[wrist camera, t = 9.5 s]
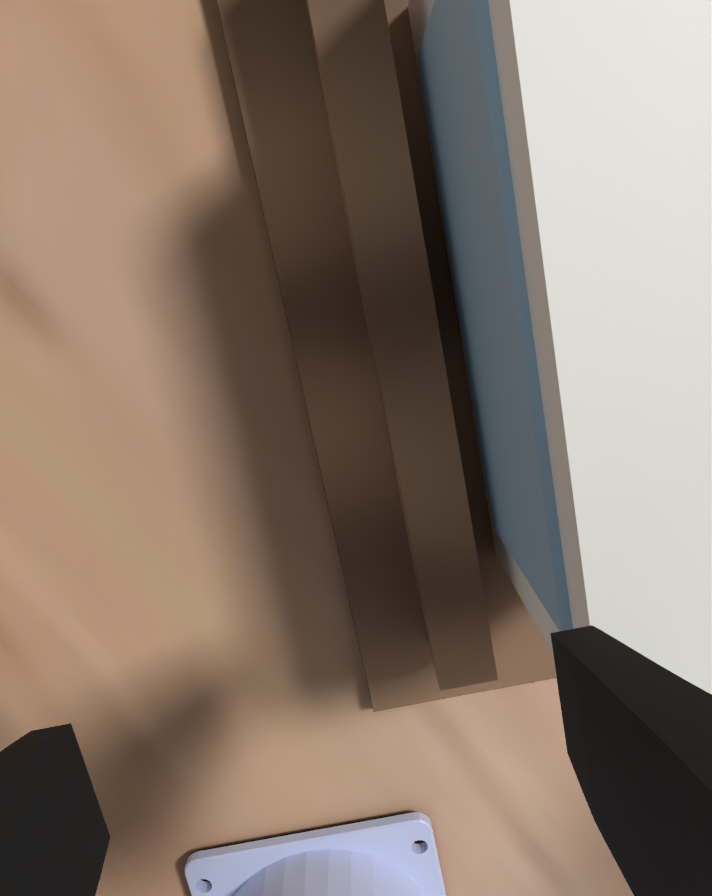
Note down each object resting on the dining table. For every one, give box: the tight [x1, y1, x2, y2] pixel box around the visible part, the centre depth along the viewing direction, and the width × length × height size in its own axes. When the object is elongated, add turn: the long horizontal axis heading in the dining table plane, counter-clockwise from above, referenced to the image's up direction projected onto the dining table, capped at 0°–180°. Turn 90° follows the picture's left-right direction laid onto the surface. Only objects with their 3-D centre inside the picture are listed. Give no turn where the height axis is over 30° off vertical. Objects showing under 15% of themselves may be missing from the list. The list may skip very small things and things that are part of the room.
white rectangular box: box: [408, 0, 712, 694], centre depth 13 cm, size 14×4×8 cm, turn 11°
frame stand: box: [217, 0, 557, 712], centre depth 16 cm, size 22×12×3 cm, turn 11°
